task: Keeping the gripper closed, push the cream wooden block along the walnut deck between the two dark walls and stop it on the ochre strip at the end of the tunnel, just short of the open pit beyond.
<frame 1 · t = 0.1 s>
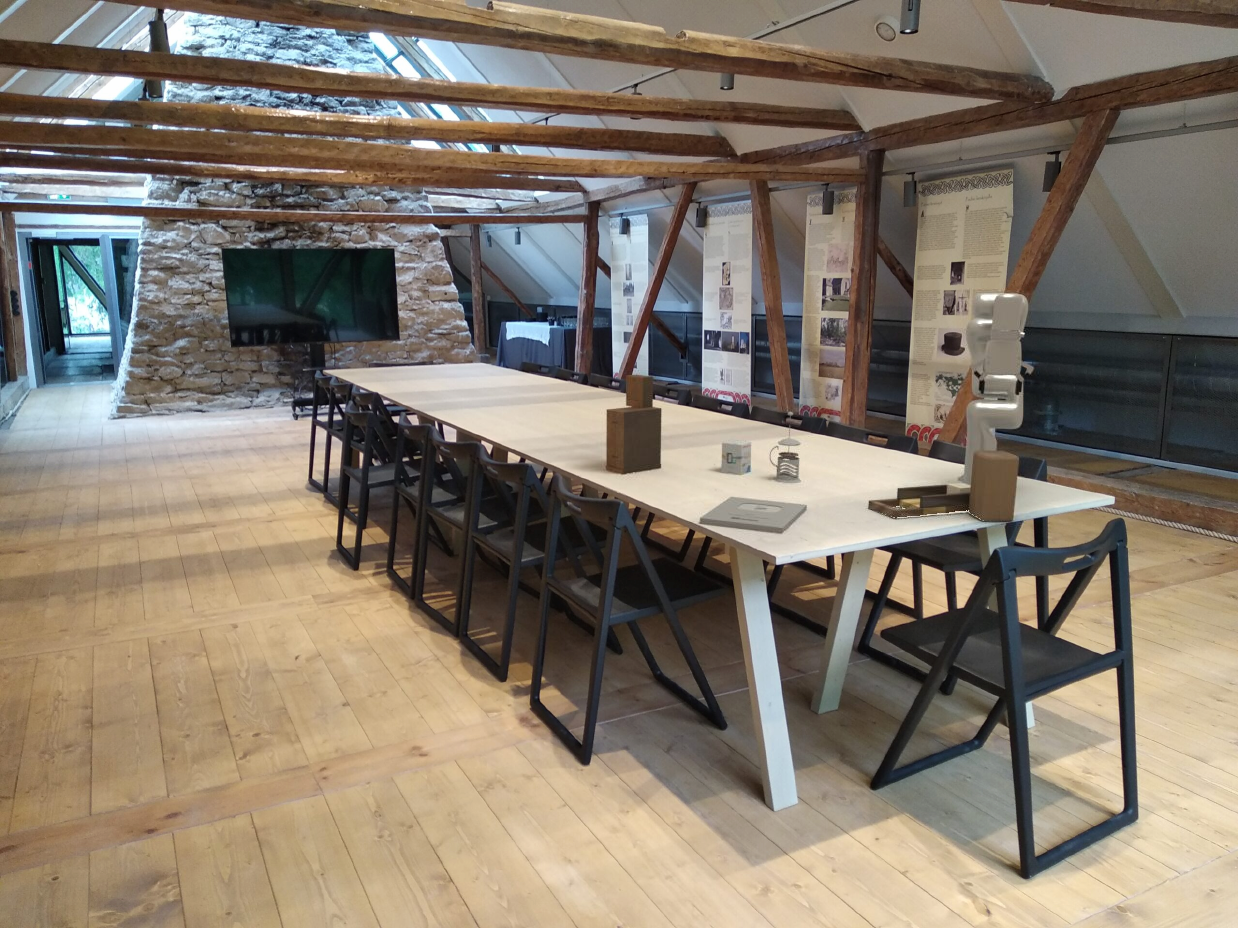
hand: (999, 394, 258), 37 cm above the table, tool pointing down, fingers open, 9 cm apart
tunnel deck: (929, 509, 270), on the table
award plaque: (754, 518, 261), on the table
ink box: (735, 472, 326), on the table
french press: (784, 480, 312), on the table
cream block: (960, 499, 273), point 2 cm above the table, touching tunnel deck
block: (990, 518, 261), on the table
stacked wooden blocks: (633, 469, 331), on the table
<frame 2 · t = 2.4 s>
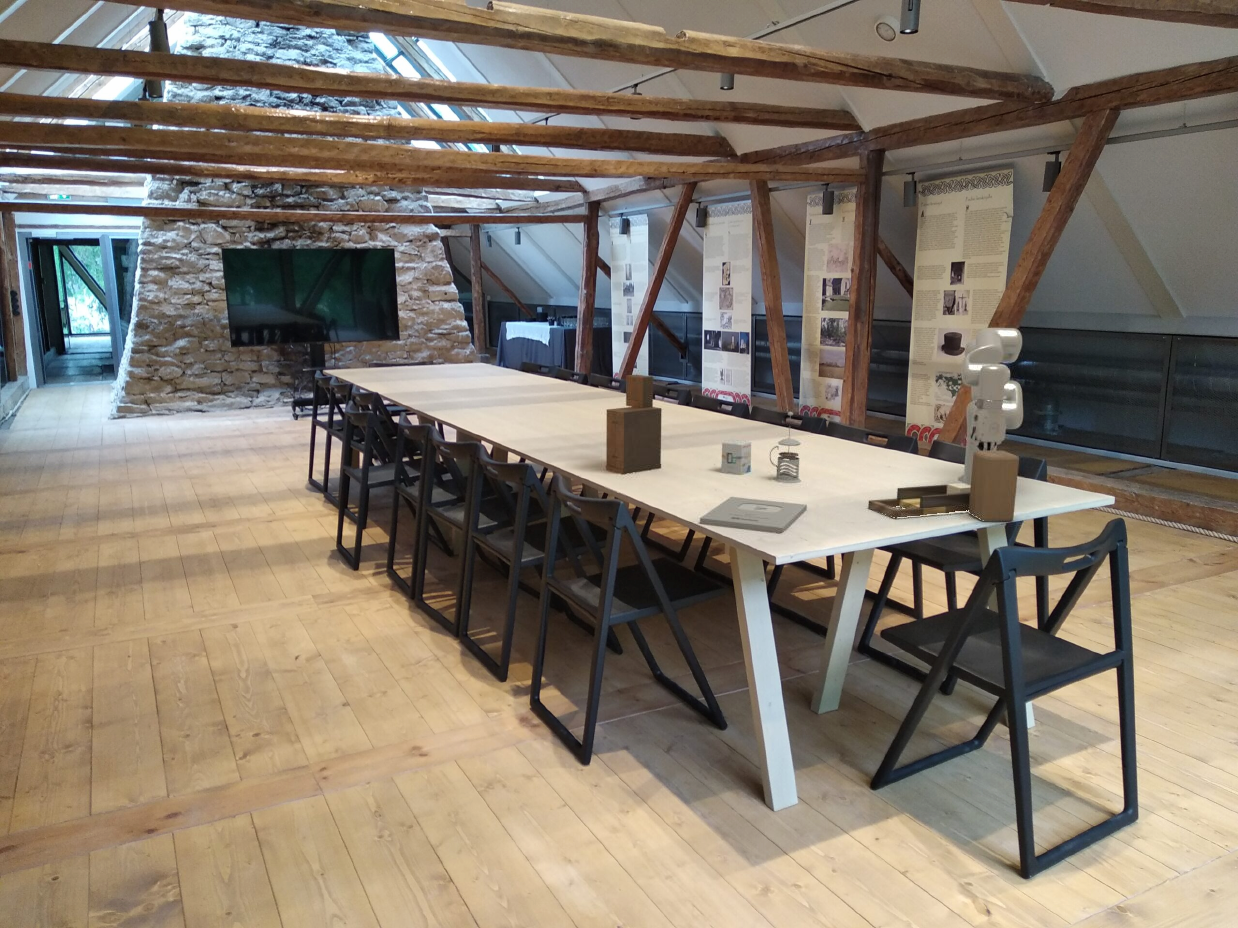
hand: (984, 462, 273), 14 cm above the table, tool pointing down, fingers closed
nothing on the table moved.
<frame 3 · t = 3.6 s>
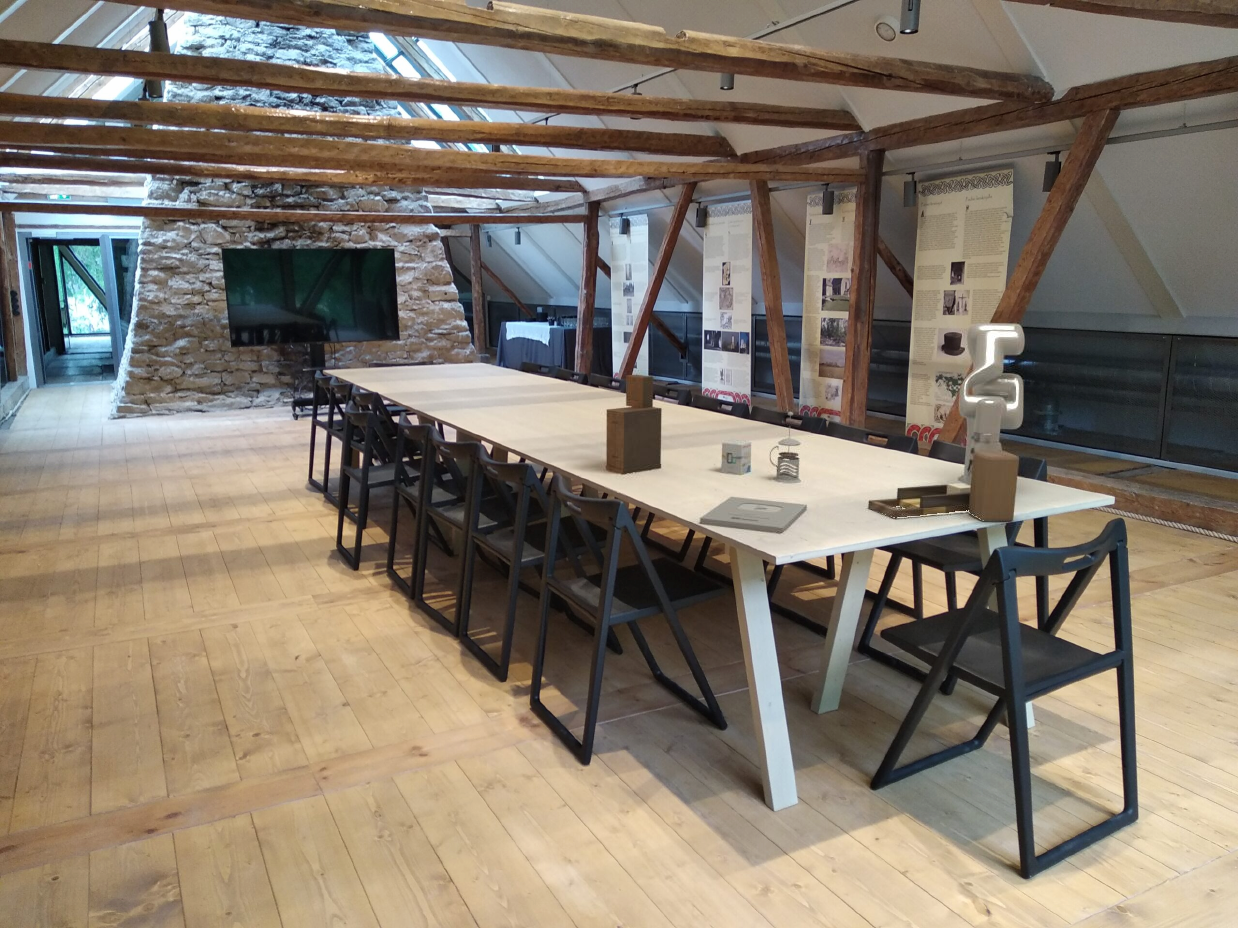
hand: (981, 494, 275), 4 cm above the table, tool pointing down, fingers closed
nothing on the table moved.
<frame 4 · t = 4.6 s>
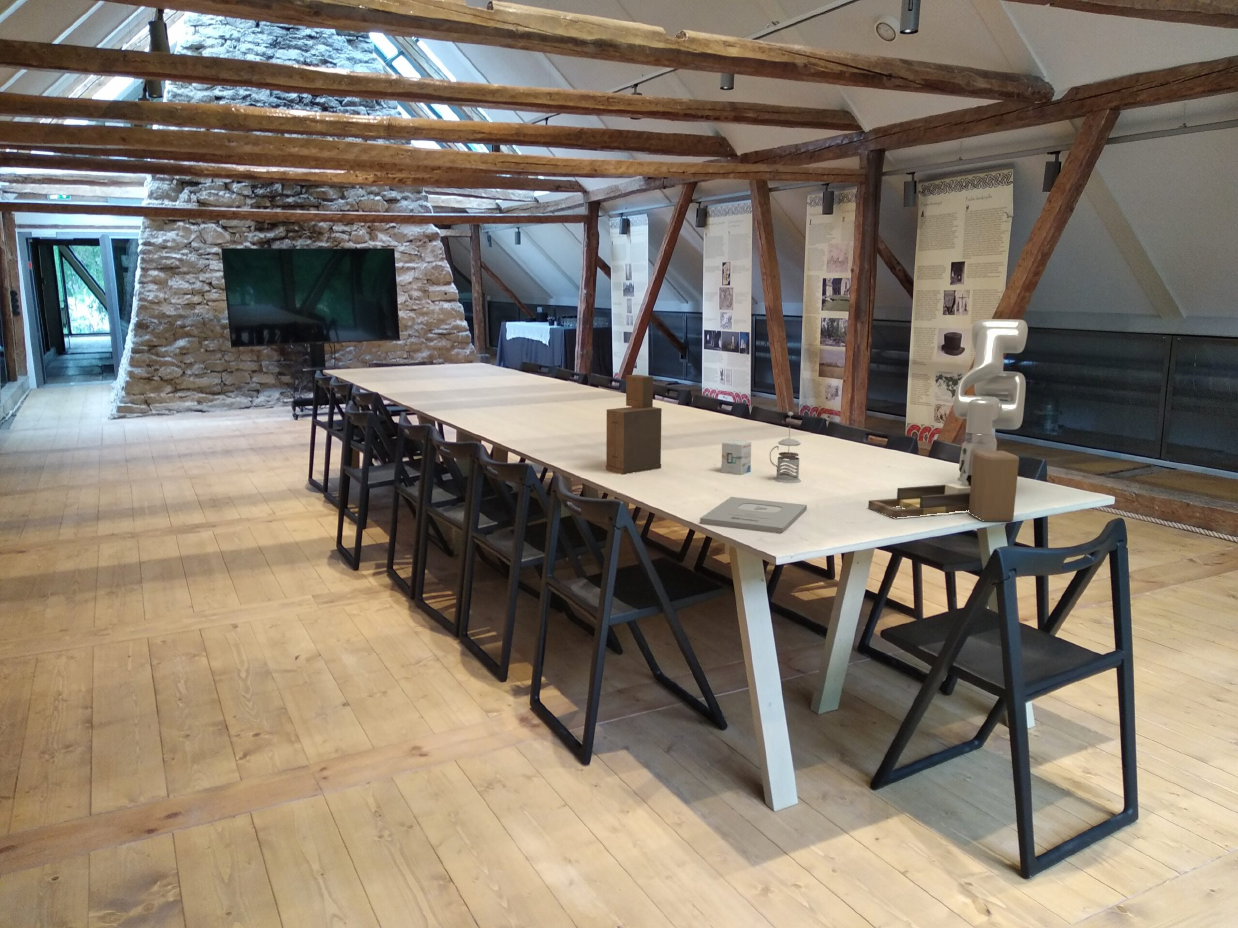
hand: (973, 495, 274), 4 cm above the table, tool pointing down, fingers closed
cream block: (958, 499, 273), point 3 cm above the table
everything else where it was.
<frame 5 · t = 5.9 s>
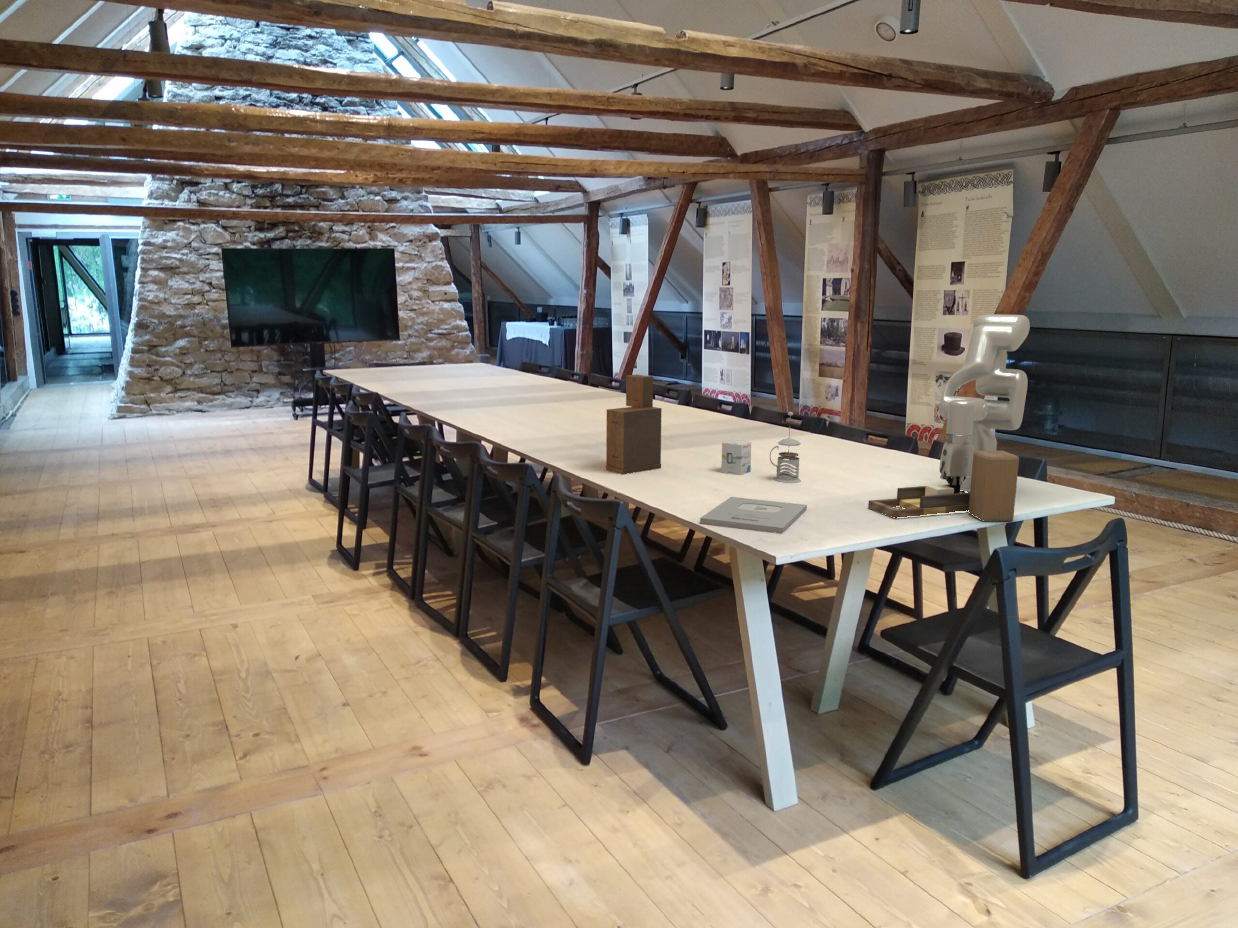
hand: (953, 496, 272), 4 cm above the table, tool pointing down, fingers closed
cream block: (938, 500, 271), point 3 cm above the table, touching gripper
everything else where it was.
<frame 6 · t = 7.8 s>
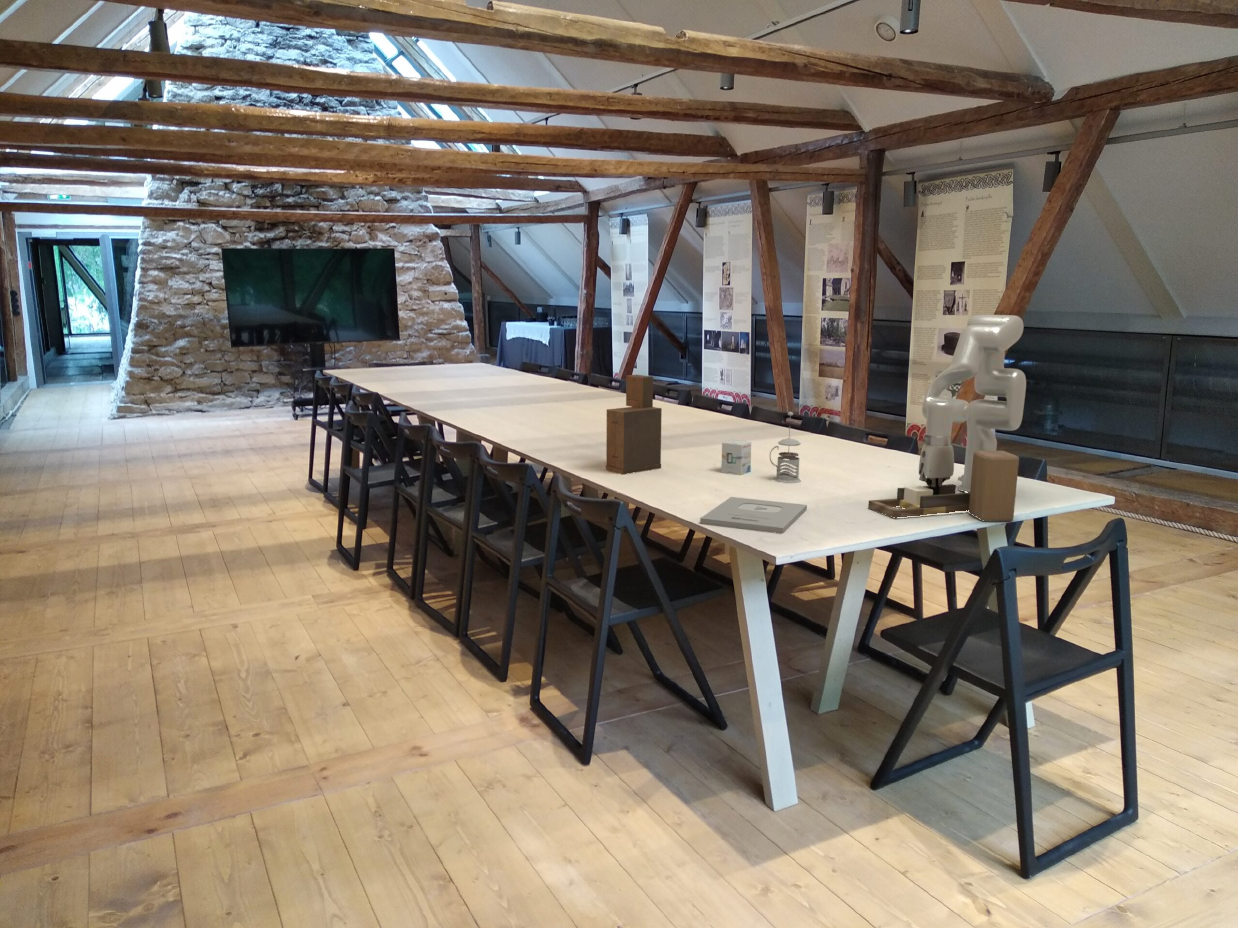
hand: (933, 498, 270), 4 cm above the table, tool pointing down, fingers closed
cream block: (917, 502, 269), point 2 cm above the table, touching gripper, tunnel deck
everything else where it was.
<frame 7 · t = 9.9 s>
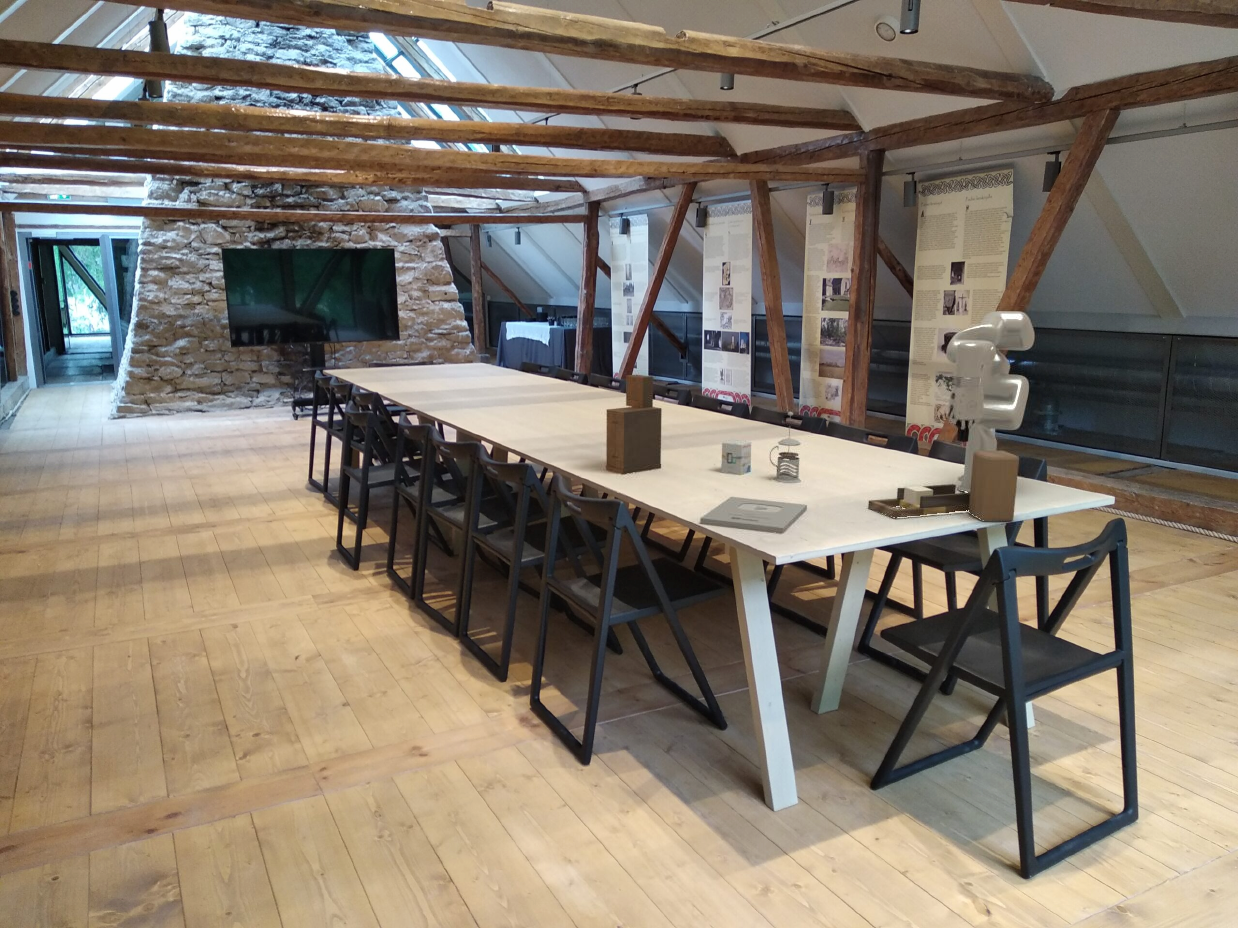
hand: (962, 441, 269), 21 cm above the table, tool pointing down, fingers closed
cream block: (917, 502, 269), point 2 cm above the table, touching tunnel deck
everything else where it was.
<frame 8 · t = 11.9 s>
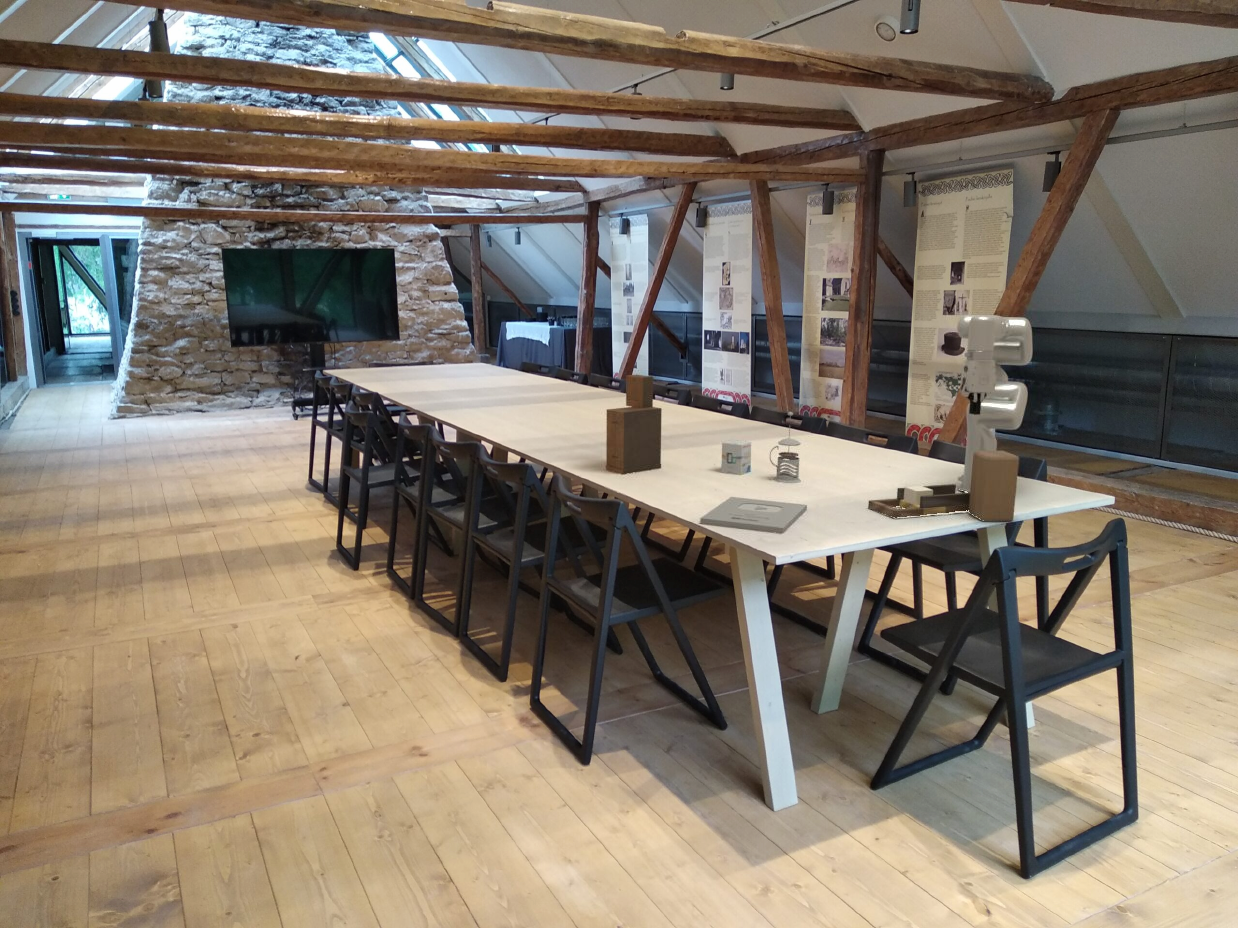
hand: (974, 414, 274), 29 cm above the table, tool pointing down, fingers closed
nothing on the table moved.
at the end: cream block inside the target area (1.5 cm from its centre), point 2.5 cm above the table; cream block tilted 0° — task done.
